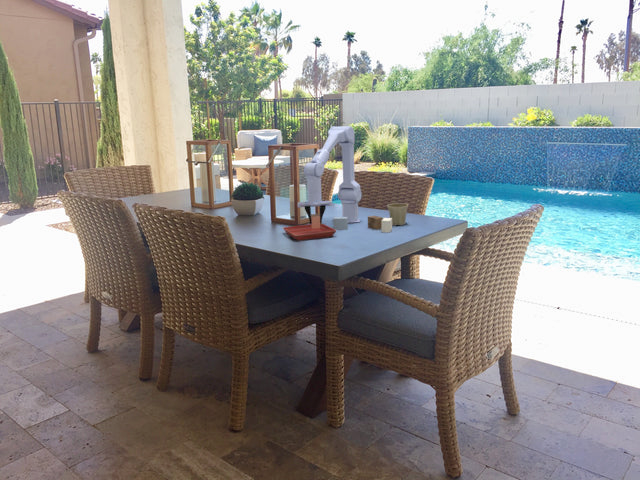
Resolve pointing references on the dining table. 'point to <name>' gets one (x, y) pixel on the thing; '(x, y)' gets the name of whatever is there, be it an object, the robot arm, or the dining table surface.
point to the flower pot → (398, 213)
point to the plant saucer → (309, 232)
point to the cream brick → (386, 224)
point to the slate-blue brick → (340, 223)
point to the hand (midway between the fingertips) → (315, 223)
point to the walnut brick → (375, 222)
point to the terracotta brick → (315, 221)
